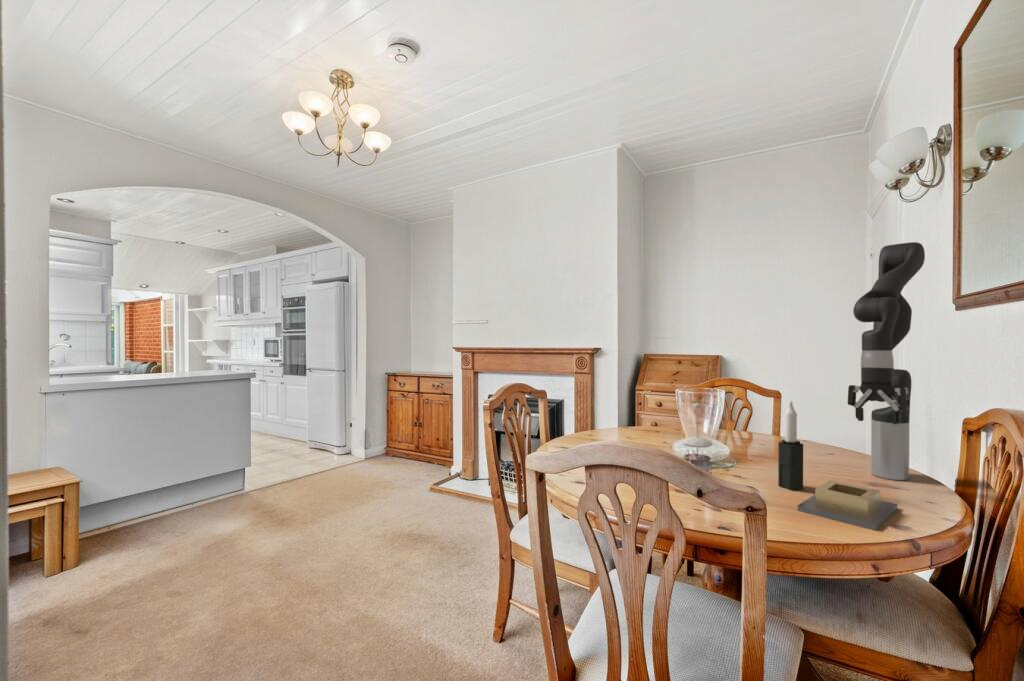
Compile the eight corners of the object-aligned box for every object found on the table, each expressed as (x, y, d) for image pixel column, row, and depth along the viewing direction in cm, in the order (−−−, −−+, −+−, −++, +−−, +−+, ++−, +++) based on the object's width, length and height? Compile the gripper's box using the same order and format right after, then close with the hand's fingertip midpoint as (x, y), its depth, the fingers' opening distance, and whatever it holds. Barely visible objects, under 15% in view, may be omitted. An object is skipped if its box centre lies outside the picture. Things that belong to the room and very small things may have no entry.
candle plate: (824, 492, 132) (824, 474, 132) (897, 508, 120) (897, 489, 120) (797, 510, 119) (797, 490, 119) (875, 530, 107) (875, 508, 107)
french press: (721, 490, 134) (721, 403, 134) (704, 501, 126) (704, 407, 126) (688, 483, 141) (688, 399, 141) (669, 492, 133) (669, 404, 133)
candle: (805, 488, 135) (805, 401, 135) (792, 491, 134) (792, 402, 133) (788, 483, 140) (789, 399, 140) (776, 485, 138) (776, 400, 138)
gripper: (912, 366, 133) (913, 424, 133) (854, 365, 145) (854, 418, 145) (902, 367, 129) (903, 426, 129) (843, 365, 141) (844, 420, 140)
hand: (877, 422), depth 137 cm, fingers open, 8 cm apart
